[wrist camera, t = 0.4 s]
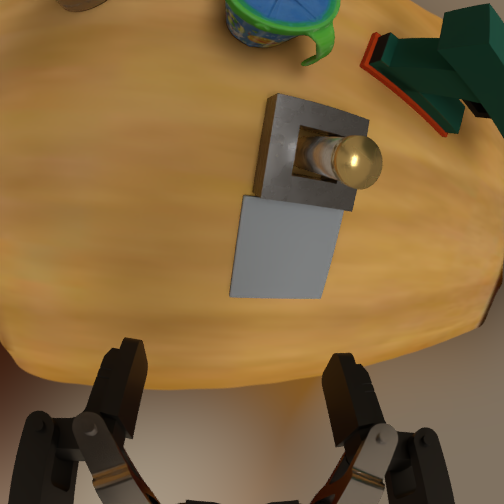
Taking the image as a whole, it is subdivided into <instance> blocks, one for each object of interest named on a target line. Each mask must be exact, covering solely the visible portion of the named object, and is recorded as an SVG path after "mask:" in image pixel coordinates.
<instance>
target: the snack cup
mask: <svg viewBox="0 0 504 504" xmlns="http://www.w3.org/2000/svg"><path fill="white" fill-rule="evenodd" d="M225 5H226V23H227V26H228V28H229V30H230V31H231V33H232V35H233V36H235V37H236V38H237V39H238V40H240V41H242V42H243V43H245V44H247V45H248V46H254V47H273V46H276V45H279V44H281V43H283V42H285V41H288V40H290V39H292V38H294V37H296V36H299V35H306V36H309V37H310V38H312V39H313V40H314V41H315V42H316V55H314V56H312V57H310V58H308V59H306V60H304V61H303V62H302V63H301V65H302V66H308V65H311V64H313V63H315V62H317V61H319V60H320V59H322V58H323V57H325V56H327V55H328V54H329V53H330V52H331V50H332V48H333V46H334V39H335V35H334V28H333V19H334V18H335V17H336V15H337V13H338V11H339V8H340V0H225Z"/></svg>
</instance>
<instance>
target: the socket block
mask: <svg viewBox="0 0 504 504" xmlns="http://www.w3.org/2000/svg"><path fill="white" fill-rule="evenodd" d="M368 126H369V120H368V119H365V118H362V117H359V116H357V115H354V114H351V113H348V112H345V111H342V110H339V109H335V108H332V107H329V106H325V105H322V104H319V103H315V102H311V101H308V100H304V99H300V98H296V97H292V96H288V95H283V94H279V93H277V94H276V95H274V96H272V97H270V98H268V99H267V105H266V111H265V117H264V123H263V129H262V135H261V142H260V148H259V154H258V160H257V167H256V173H255V179H254V186H253V193H255V194H256V195H257V196H258V197H259V198H261V199H268V200H276V201H284V202H291V203H299V204H306V205H313V206H320V207H326V208H333V209H339V210H345V211H351V212H352V210H353V205H354V201H355V196H356V192H357V189H355V188H352V187H349V186H346V185H344V184H342V183H341V182H340V181H338V180H335V179H332V178H329V177H326V176H323V175H322V177H321V178H316V177H310V176H305V175H299V174H293V173H292V169H293V164H294V158H295V152H296V146H297V140H298V134H299V129H302V130H306V131H310V132H314V133H318V134H322V135H326V136H329V137H346V136H349V135H359V136H366V137H367V132H368Z"/></svg>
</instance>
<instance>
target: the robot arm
mask: <svg viewBox="0 0 504 504" xmlns="http://www.w3.org/2000/svg"><path fill="white" fill-rule="evenodd" d="M56 1H57V2H58V3H59V4H60V5H61V6H62V7H63V8H65V9H66V10H68V11H74V12H77V11H84V10H88V9H90V8H93V7H95V6H97V5H99V4H101V3H103V2H104V1H106V0H56ZM147 370H148V362H147V358H146V353H145V349H144V344H143V341H142V340H138V339H132V338H126V337H125V338H124V339H123V341H122V344H121V346H120V349H116V348H112V349H111V350H110V351H109V352H108V353H107V354H106V355H105V356H104V358H103V361H102V363H101V366H100V369H99V371H98V374H97V377H96V380H95V382H94V385H93V388H92V391H91V394H90V397H89V400H88V403H87V406H86V408H85V410H84V411H83V412H82V413H80V414H79V415H77V416H76V417H73V418H51V417H50V416H49V415H48V414H47V413H45V412H43V411H35V412H32V413H31V414H30V415H29V416H28V417H27V419H26V422H25V425H24V428H23V432H22V436H21V439H20V443H19V447H18V451H17V455H16V460H15V465H14V470H13V475H12V481H11V487H10V494H9V502H8V504H73V502H74V491H75V484H76V477H77V470H78V463H79V461H85V462H86V464H87V466H88V468H89V470H90V472H91V474H92V477H93V481H92V482H93V486H94V488H95V490H96V492H97V494H98V496H99V498H100V499H101V501H102V503H103V504H160V502H159V501H158V500H157V498H156V496H155V495H154V494H153V492H152V491H151V490H150V488H149V487H148V486H147V484H146V483H145V482H144V480H143V479H142V477H141V476H140V474H139V472H138V471H137V469H136V468H135V466H134V464H133V463H132V461H131V460H130V458H129V456H128V454H127V452H126V450H125V449H124V447H123V445H124V441H125V438H129V439H133V435H134V430H135V425H136V420H137V415H138V411H139V406H140V401H141V397H142V393H143V389H144V384H145V380H146V376H147ZM371 383H372V382H371V379H370V377H369V374H368V372H367V371H366V370H365V368H364V367H363V366H362V365H361V364H356V363H355V360H354V357H353V355H352V354H351V353H334V354H333V355H332V357H331V359H330V361H329V363H328V365H327V367H326V368H325V370H324V372H323V375H322V387H323V391H324V395H325V400H326V405H327V409H328V414H329V418H330V423H331V427H332V432H333V437H334V442H335V447H341V446H344V448H345V452H344V453H343V455H342V457H341V458H340V460H339V462H338V464H337V466H336V468H335V469H334V471H333V473H332V474H331V476H330V477H329V479H328V481H327V482H326V484H325V485H324V486H323V488H321V489H320V491H319V492H318V493H317V494H316V495H315V496H314V498H313V499H312V501H311V502H310V504H378V502H379V501H380V499H381V496H382V494H383V492H384V489H385V484H383V478H384V476H385V482H386V488H387V494H388V500H389V504H455V502H454V497H453V492H452V488H451V483H450V479H449V475H448V471H447V467H446V463H445V459H444V456H443V452H442V449H441V446H440V442H439V439H438V436H437V434H436V433H435V432H434V431H433V430H432V429H430V428H421V429H419V430H418V431H417V432H415V433H408V432H398V431H396V430H395V429H394V428H393V427H392V426H391V425H389V424H386V422H385V420H384V417H383V414H382V411H381V409H380V405H379V402H378V399H377V396H376V394H375V392H374V388H373V385H372V384H371ZM179 504H219V503H215V502H204V501H192V500H186V503H179ZM268 504H299V501H298V500H294V501H284V502H271V503H268Z"/></svg>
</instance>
